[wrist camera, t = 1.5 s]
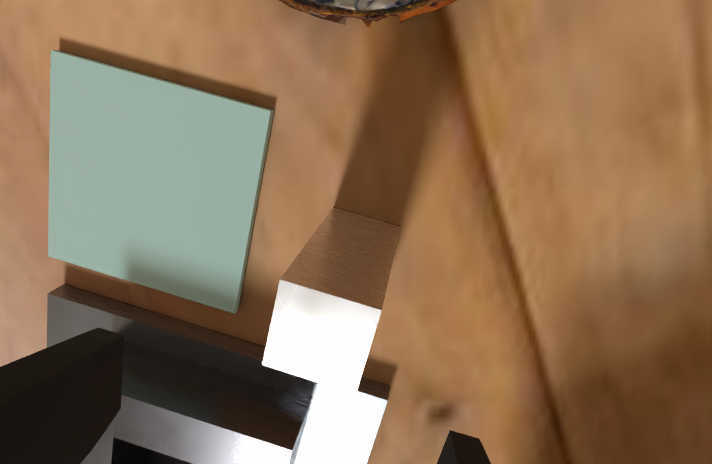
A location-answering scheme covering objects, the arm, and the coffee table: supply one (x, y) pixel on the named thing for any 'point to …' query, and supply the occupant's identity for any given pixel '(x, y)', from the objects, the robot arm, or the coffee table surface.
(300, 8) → the burger
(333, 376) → the light grey rectangular block
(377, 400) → the plate
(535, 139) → the coffee table surface
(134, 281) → the mat
